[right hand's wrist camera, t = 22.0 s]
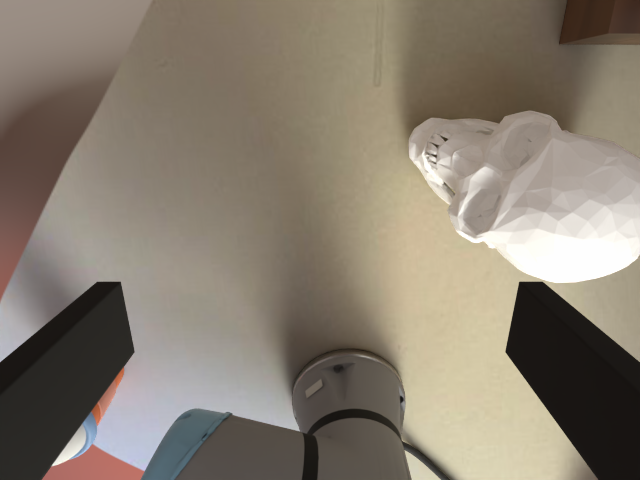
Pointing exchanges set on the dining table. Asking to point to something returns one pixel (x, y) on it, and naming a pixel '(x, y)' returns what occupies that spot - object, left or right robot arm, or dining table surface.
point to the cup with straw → (89, 425)
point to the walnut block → (601, 22)
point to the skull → (535, 192)
